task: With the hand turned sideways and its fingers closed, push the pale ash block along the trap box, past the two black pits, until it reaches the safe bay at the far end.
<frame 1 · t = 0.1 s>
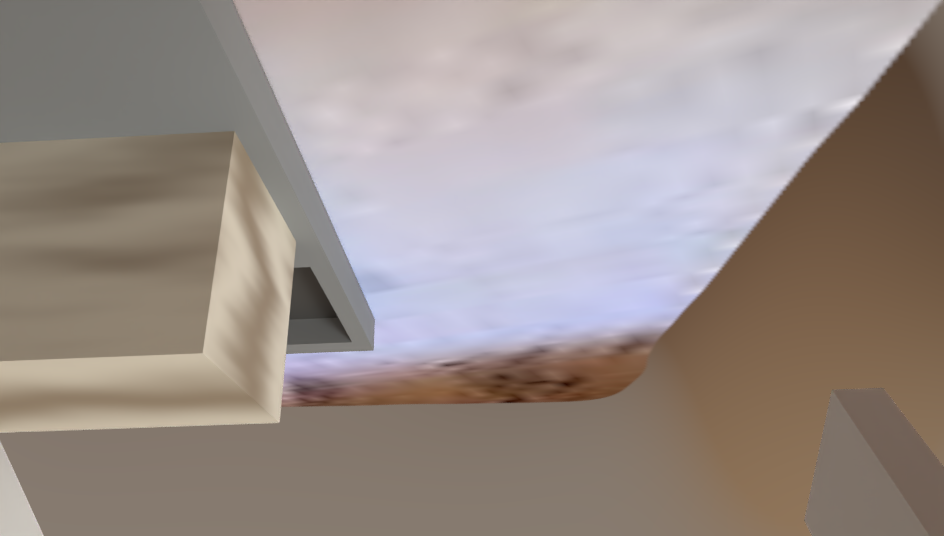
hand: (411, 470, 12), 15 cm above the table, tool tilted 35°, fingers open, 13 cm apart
block: (117, 200, 29), point 2 cm above the table, touching trap box
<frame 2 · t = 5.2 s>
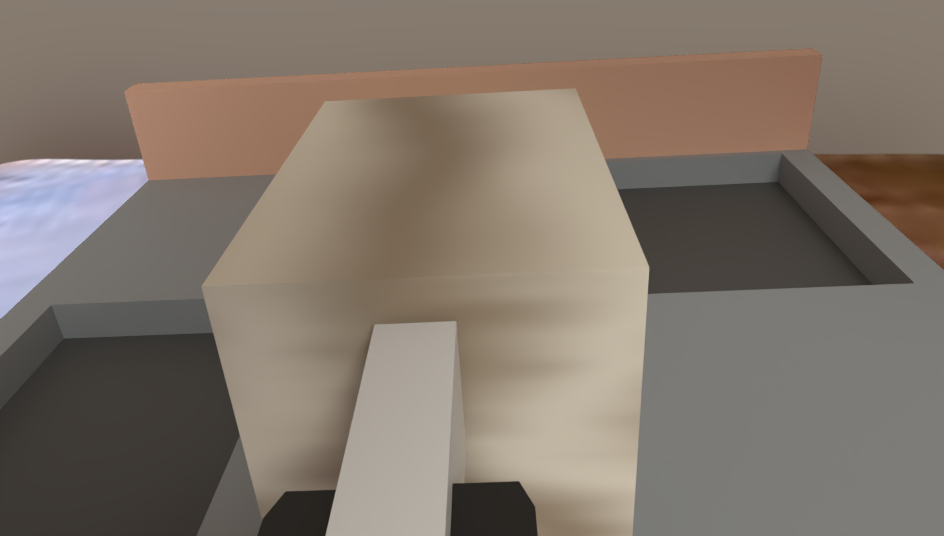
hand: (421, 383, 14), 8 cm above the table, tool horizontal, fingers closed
trap box: (469, 331, 30), on the table
block: (460, 414, 22), point 2 cm above the table, touching gripper
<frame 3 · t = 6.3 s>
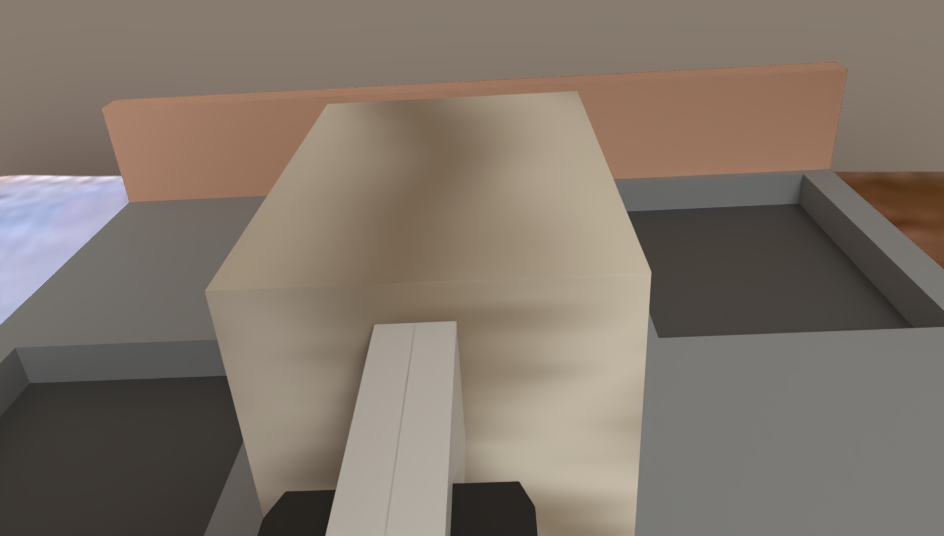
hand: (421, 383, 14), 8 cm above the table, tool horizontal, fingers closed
trap box: (471, 375, 28), on the table
block: (462, 416, 22), point 2 cm above the table, touching gripper, trap box
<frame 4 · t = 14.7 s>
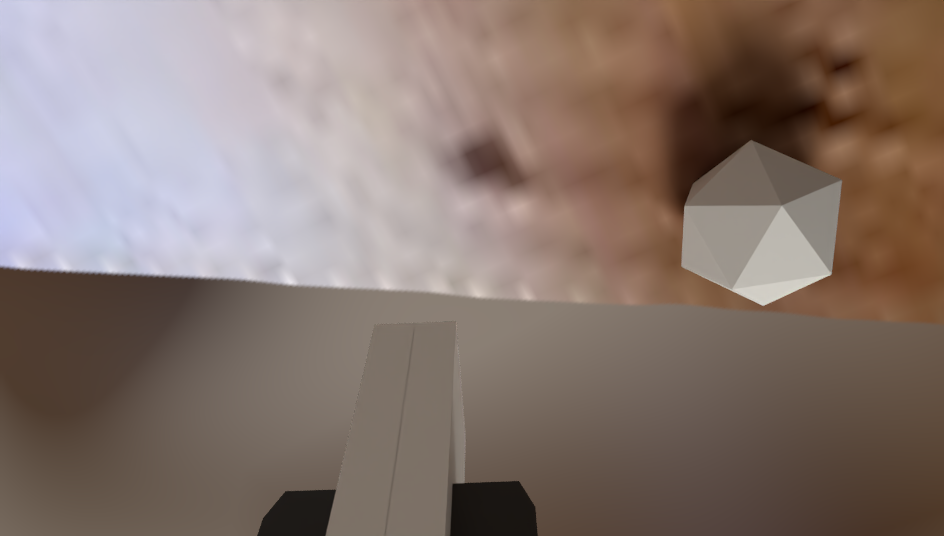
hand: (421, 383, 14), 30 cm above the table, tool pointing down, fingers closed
die: (735, 197, 45), on the table
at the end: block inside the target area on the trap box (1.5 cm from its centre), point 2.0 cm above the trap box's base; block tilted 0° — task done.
